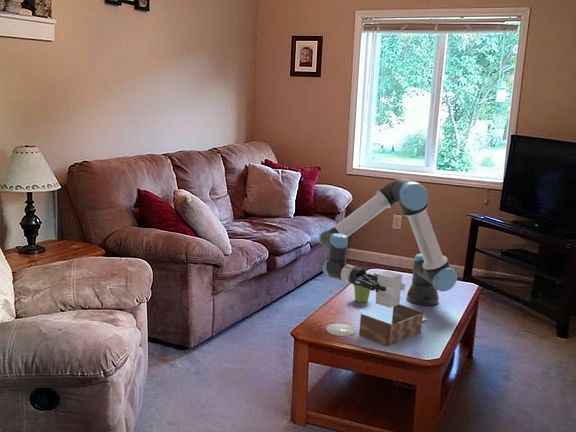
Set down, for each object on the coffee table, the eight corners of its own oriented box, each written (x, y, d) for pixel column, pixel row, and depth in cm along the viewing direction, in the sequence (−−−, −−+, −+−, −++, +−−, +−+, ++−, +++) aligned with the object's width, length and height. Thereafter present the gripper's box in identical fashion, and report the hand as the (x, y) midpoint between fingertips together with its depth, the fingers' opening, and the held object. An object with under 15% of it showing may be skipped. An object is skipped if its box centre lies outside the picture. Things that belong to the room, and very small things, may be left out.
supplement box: (400, 304, 248) (402, 274, 246) (389, 308, 243) (392, 278, 240) (384, 299, 253) (387, 270, 251) (374, 303, 248) (377, 273, 245)
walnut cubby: (393, 322, 264) (395, 302, 262) (420, 332, 255) (423, 311, 253) (359, 335, 247) (360, 314, 245) (387, 346, 238) (389, 324, 236)
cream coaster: (338, 322, 259) (339, 321, 259) (361, 331, 251) (361, 330, 251) (320, 329, 251) (320, 328, 251) (342, 338, 243) (342, 337, 243)
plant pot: (348, 301, 287) (350, 283, 286) (355, 296, 296) (356, 278, 294) (367, 305, 283) (369, 287, 282) (373, 299, 292) (375, 282, 290)
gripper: (367, 279, 267) (412, 293, 251) (338, 288, 252) (383, 303, 237) (369, 263, 265) (414, 276, 250) (339, 270, 251) (385, 285, 235)
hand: (399, 289), depth 243 cm, fingers closed on supplement box, 7 cm apart
